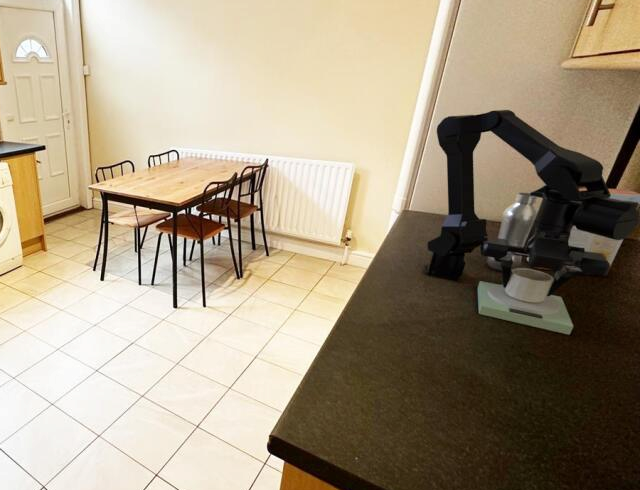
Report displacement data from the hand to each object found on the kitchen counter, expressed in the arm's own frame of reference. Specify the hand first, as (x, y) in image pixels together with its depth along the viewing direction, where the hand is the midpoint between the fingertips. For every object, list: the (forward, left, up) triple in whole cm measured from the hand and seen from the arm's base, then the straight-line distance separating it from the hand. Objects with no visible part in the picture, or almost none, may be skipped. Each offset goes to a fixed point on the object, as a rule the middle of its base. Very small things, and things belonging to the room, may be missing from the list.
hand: (525, 291), depth 89 cm
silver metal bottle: (-2, +22, -4) cm, 23 cm away
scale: (0, -1, -4) cm, 4 cm away
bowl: (0, 0, -1) cm, 1 cm away
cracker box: (+11, +31, -4) cm, 34 cm away
